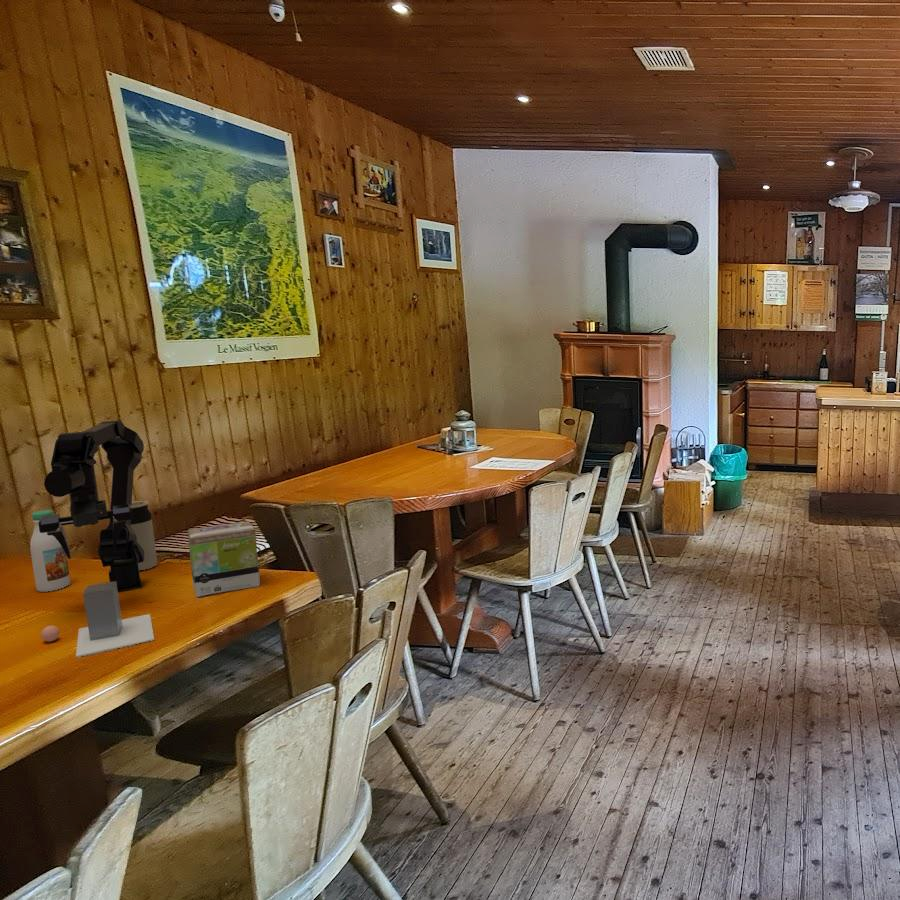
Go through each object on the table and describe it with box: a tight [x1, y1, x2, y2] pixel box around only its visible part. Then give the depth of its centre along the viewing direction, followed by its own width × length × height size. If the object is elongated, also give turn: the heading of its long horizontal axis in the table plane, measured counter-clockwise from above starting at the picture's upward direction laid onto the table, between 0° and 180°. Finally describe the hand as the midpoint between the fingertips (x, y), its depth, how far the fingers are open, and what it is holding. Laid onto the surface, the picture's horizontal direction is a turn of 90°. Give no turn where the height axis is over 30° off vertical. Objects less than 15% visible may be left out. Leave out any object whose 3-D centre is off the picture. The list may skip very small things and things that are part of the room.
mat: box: [75, 613, 155, 659], centre depth 145 cm, size 14×16×1 cm
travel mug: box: [130, 500, 158, 572], centre depth 191 cm, size 8×8×18 cm
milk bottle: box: [29, 509, 71, 593], centre depth 179 cm, size 8×8×20 cm
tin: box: [82, 581, 123, 641], centre depth 145 cm, size 5×5×10 cm
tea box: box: [187, 520, 261, 598], centre depth 171 cm, size 15×10×15 cm, turn 114°
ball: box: [40, 625, 60, 643], centre depth 144 cm, size 3×3×3 cm
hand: (92, 554), depth 160 cm, fingers open, 9 cm apart
